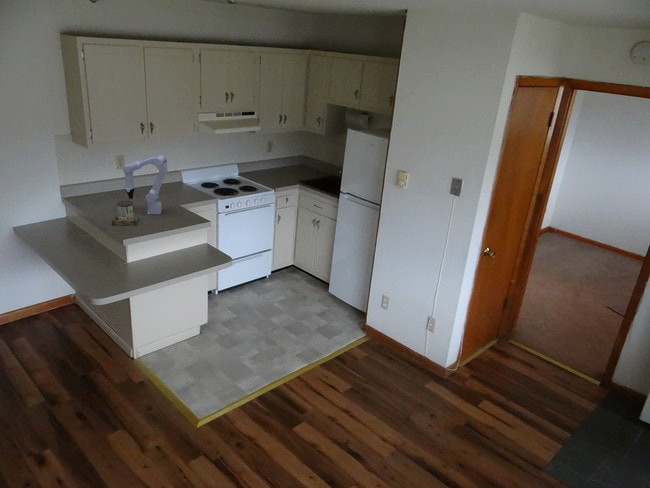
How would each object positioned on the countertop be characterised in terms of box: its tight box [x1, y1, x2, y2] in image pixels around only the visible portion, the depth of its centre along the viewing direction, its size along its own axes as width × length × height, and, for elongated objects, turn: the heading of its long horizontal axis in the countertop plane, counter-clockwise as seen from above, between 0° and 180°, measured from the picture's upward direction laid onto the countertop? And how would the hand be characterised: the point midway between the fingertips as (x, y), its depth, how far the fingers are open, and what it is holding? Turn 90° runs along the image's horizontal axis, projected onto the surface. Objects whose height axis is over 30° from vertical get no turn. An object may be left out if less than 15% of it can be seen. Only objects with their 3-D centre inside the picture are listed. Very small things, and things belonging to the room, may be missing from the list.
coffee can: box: [116, 200, 135, 220], centre depth 346 cm, size 10×10×14 cm
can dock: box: [111, 215, 140, 226], centre depth 347 cm, size 16×10×3 cm, turn 99°
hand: (131, 198), depth 368 cm, fingers closed
